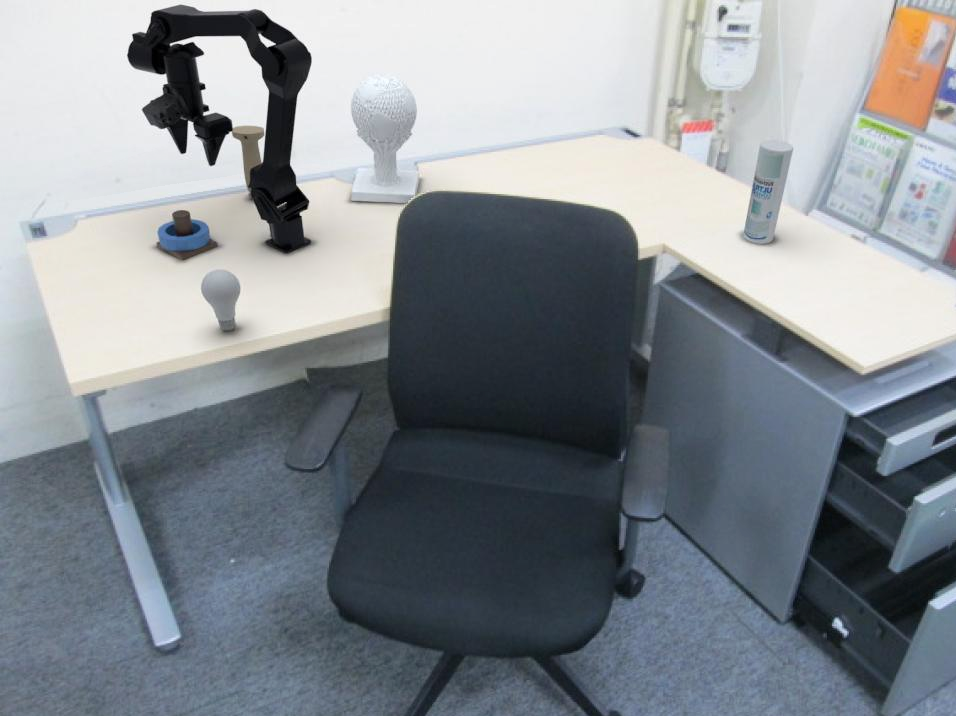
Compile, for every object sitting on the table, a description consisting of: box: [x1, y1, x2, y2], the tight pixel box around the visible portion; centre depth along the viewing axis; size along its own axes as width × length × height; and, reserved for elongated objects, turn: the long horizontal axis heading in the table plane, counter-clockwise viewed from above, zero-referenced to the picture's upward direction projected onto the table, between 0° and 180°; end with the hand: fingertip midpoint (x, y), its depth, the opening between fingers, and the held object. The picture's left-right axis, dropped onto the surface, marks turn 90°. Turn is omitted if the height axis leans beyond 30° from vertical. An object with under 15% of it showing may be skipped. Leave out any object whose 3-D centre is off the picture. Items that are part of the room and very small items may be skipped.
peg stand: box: [155, 209, 218, 261], centre depth 175 cm, size 8×8×7 cm
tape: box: [157, 218, 211, 251], centre depth 177 cm, size 9×9×2 cm
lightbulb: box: [200, 269, 242, 332], centre depth 150 cm, size 6×6×11 cm
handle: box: [231, 125, 265, 200], centre depth 193 cm, size 5×6×15 cm
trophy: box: [350, 74, 420, 204], centre depth 197 cm, size 14×14×25 cm
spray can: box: [743, 139, 794, 245], centre depth 187 cm, size 6×6×20 cm
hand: (197, 159), depth 180 cm, fingers open, 9 cm apart
